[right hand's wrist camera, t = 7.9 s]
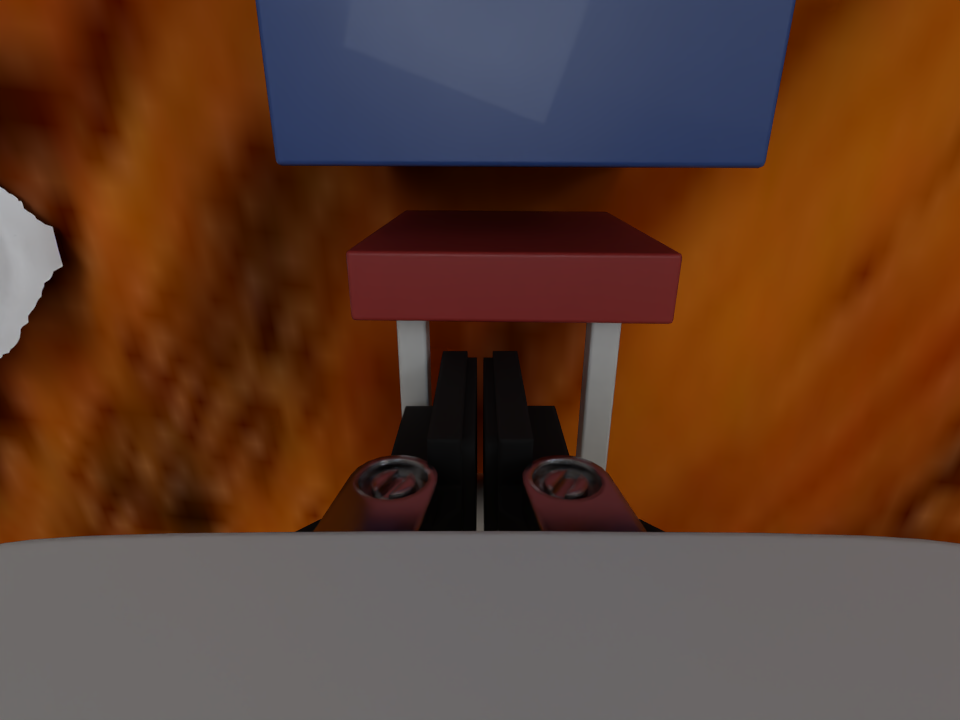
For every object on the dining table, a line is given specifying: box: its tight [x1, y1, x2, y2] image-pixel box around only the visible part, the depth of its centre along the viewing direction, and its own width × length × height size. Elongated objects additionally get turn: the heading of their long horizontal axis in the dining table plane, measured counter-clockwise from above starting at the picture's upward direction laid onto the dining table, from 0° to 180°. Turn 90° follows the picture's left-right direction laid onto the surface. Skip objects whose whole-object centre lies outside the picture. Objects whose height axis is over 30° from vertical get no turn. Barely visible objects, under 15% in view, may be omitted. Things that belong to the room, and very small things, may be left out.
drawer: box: [346, 211, 682, 531], centre depth 10 cm, size 22×6×6 cm, turn 0°
